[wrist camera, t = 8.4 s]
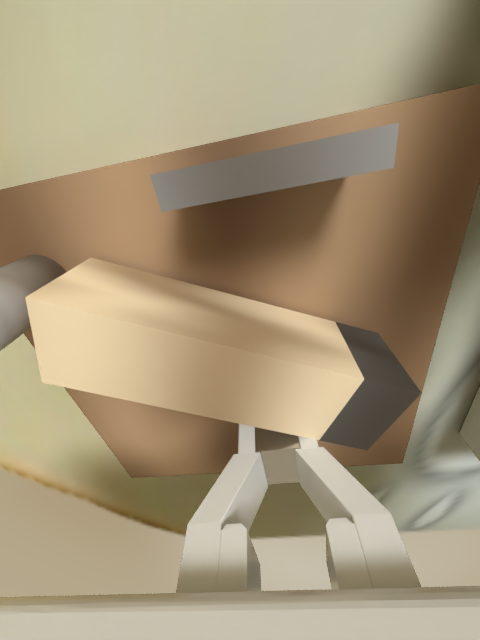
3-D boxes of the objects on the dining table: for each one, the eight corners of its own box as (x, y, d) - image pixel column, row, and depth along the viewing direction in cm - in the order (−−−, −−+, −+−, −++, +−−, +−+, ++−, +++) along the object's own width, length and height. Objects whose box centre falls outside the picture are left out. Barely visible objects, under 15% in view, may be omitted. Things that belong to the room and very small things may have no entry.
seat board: (471, 89, 6) (757, -3, 3) (392, 443, 13) (441, 541, 10) (-37, 200, 8) (-261, 231, 4) (138, 459, 15) (105, 547, 12)
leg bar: (93, 327, 9) (41, 382, 6) (91, 257, 7) (25, 297, 5) (341, 385, 10) (367, 450, 7) (378, 333, 8) (421, 392, 6)
